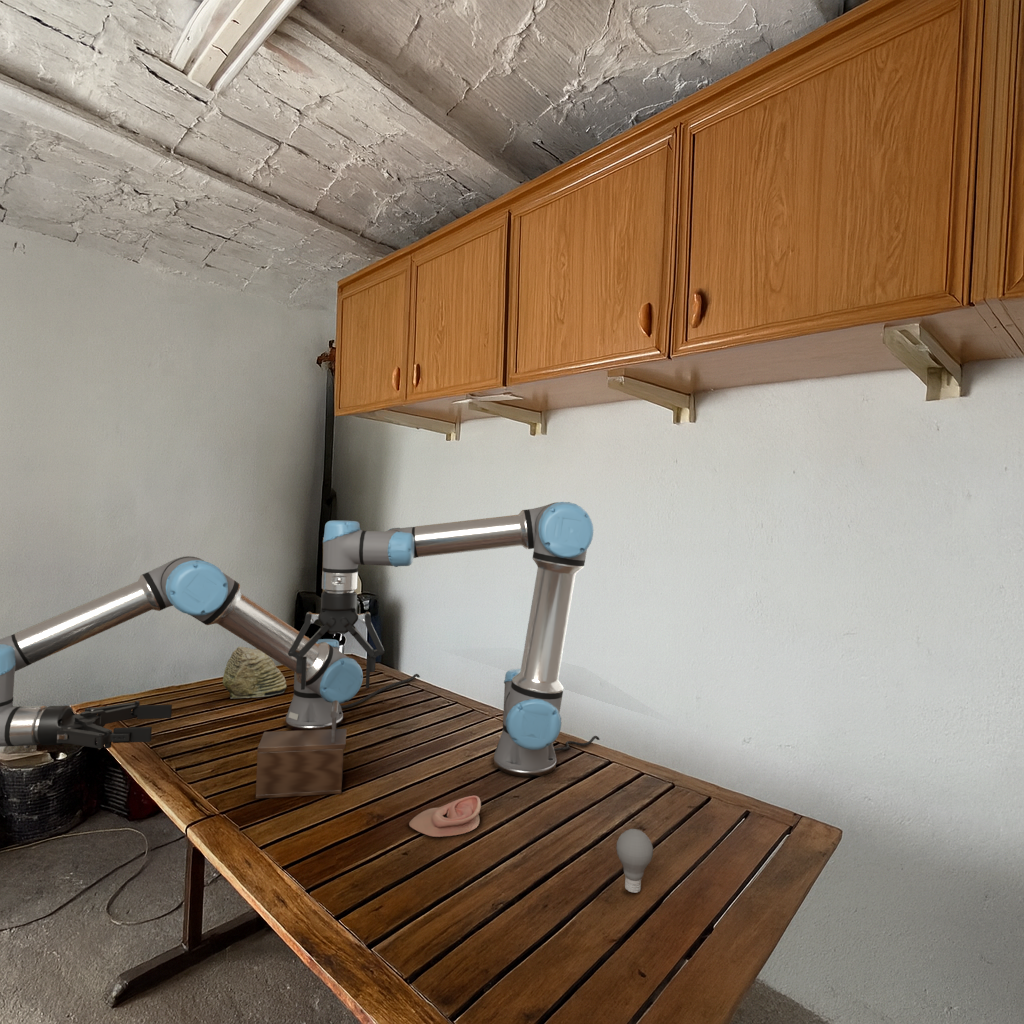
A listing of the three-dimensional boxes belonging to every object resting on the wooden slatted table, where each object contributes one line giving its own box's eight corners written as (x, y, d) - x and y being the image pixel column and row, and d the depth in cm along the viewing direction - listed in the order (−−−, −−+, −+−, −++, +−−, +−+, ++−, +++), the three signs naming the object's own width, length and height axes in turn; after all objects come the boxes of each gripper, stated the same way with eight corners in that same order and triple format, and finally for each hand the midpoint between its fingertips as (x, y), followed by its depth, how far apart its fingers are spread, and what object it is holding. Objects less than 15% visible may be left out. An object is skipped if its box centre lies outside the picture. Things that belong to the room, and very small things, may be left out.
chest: (342, 775, 145) (344, 733, 144) (341, 793, 136) (343, 749, 135) (262, 779, 141) (264, 736, 140) (255, 798, 132) (257, 752, 132)
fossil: (218, 695, 195) (220, 647, 195) (278, 685, 208) (279, 640, 207) (228, 703, 189) (230, 653, 188) (289, 692, 201) (290, 645, 201)
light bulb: (610, 879, 108) (613, 822, 108) (644, 879, 109) (647, 822, 109) (619, 902, 102) (622, 840, 102) (655, 901, 103) (658, 840, 103)
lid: (346, 733, 144) (347, 698, 144) (345, 748, 136) (346, 712, 135) (264, 736, 140) (265, 701, 140) (257, 752, 131) (258, 715, 131)
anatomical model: (403, 811, 121) (424, 785, 132) (402, 832, 121) (423, 804, 132) (471, 821, 118) (485, 794, 129) (470, 843, 118) (485, 813, 129)
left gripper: (71, 722, 138) (177, 719, 143) (9, 770, 114) (140, 765, 119) (73, 688, 138) (179, 686, 143) (11, 729, 114) (141, 725, 119)
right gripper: (277, 592, 132) (273, 693, 133) (398, 593, 138) (394, 690, 138) (281, 587, 140) (278, 683, 140) (396, 588, 145) (392, 680, 146)
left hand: (161, 722), depth 131 cm, fingers open, 13 cm apart
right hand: (335, 687), depth 139 cm, fingers open, 13 cm apart
